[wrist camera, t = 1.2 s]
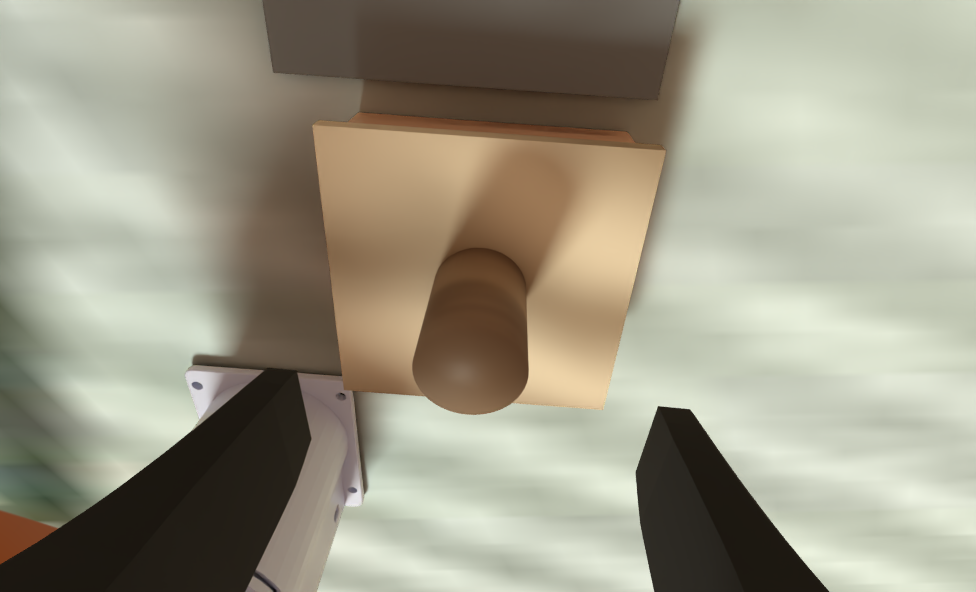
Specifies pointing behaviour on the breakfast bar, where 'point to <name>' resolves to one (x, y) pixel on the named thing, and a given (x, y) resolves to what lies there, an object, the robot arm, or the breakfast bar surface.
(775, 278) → the breakfast bar surface
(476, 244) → the lid
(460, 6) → the mat
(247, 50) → the breakfast bar surface
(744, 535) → the robot arm
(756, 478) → the breakfast bar surface
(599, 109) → the breakfast bar surface
